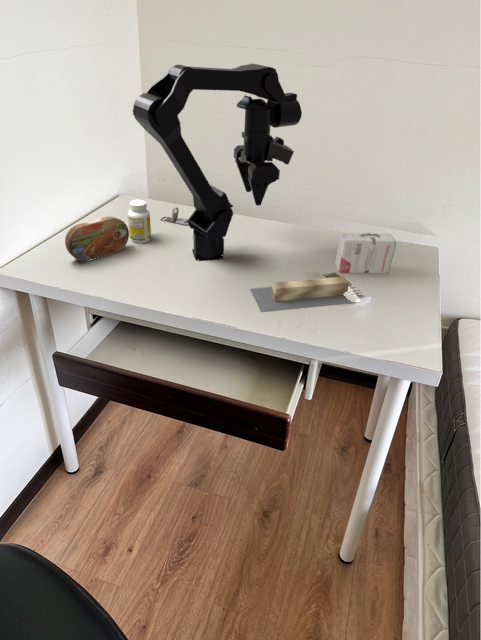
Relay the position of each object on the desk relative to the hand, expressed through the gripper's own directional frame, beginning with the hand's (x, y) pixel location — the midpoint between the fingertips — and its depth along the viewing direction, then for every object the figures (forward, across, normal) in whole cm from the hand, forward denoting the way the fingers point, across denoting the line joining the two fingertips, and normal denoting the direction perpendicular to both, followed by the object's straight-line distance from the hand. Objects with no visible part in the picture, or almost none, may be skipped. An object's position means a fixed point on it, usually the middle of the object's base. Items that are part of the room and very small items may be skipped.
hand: (253, 198), depth 111 cm
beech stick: (+11, -27, -6) cm, 30 cm away
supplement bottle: (+12, +7, +27) cm, 30 cm away
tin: (+12, 0, +37) cm, 39 cm away
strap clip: (+13, +17, +17) cm, 27 cm away
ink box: (+8, -16, -16) cm, 24 cm away
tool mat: (+12, -27, -5) cm, 30 cm away
